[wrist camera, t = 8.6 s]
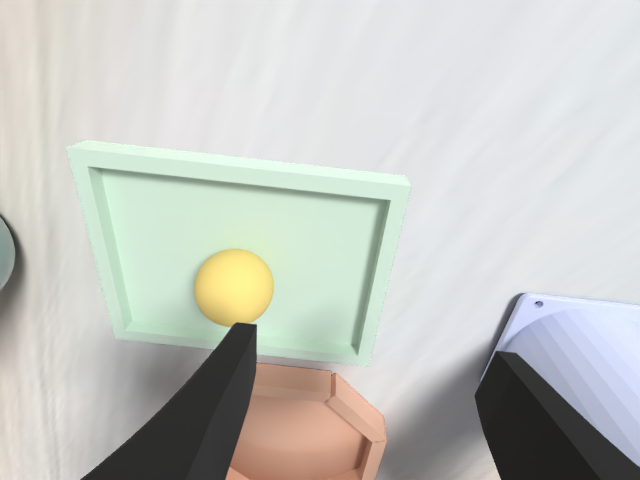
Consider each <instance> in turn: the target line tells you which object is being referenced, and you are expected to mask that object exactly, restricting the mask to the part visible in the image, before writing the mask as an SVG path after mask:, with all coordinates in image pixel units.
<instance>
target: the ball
mask: <svg viewBox="0 0 640 480" xmlns="http://www.w3.org/2000/svg"><path fill="white" fill-rule="evenodd" d="M273 292H274V281H273V277H272V273H271V271H270V269H269V267H268V266H267V264H266V263H265V262H264V261H263V260H262V259H261V258H260V257H259V256H257V255H256V254H254V253H252V252H250V251H247V250H243V249H227V250H223V251H220V252H218V253H216V254H214V255H212V256H211V257H210V258H209V259H207V260H206V261H205V262H204V263H203V265H202V266H201V267H200V269H199V271H198V273H197V275H196V278H195V283H194V296H195V300H196V303H197V305H198V307H199V309H200V311H201V312H202V313H203V314H204V315H205V316H206V317H207V318H208V319H209V320H211V321H212V322H214V323H216V324H218V325H221V326H226V327H232V326H233V324H235V323H236V322H240V323H252V322H253V321H255V320H256V319H258V318H259V317H260V316H261V315H262V314H263V313H264V312H265V311H266V310H267V308H268V306H269V305H270V302H271V300H272V297H273Z"/></svg>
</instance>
